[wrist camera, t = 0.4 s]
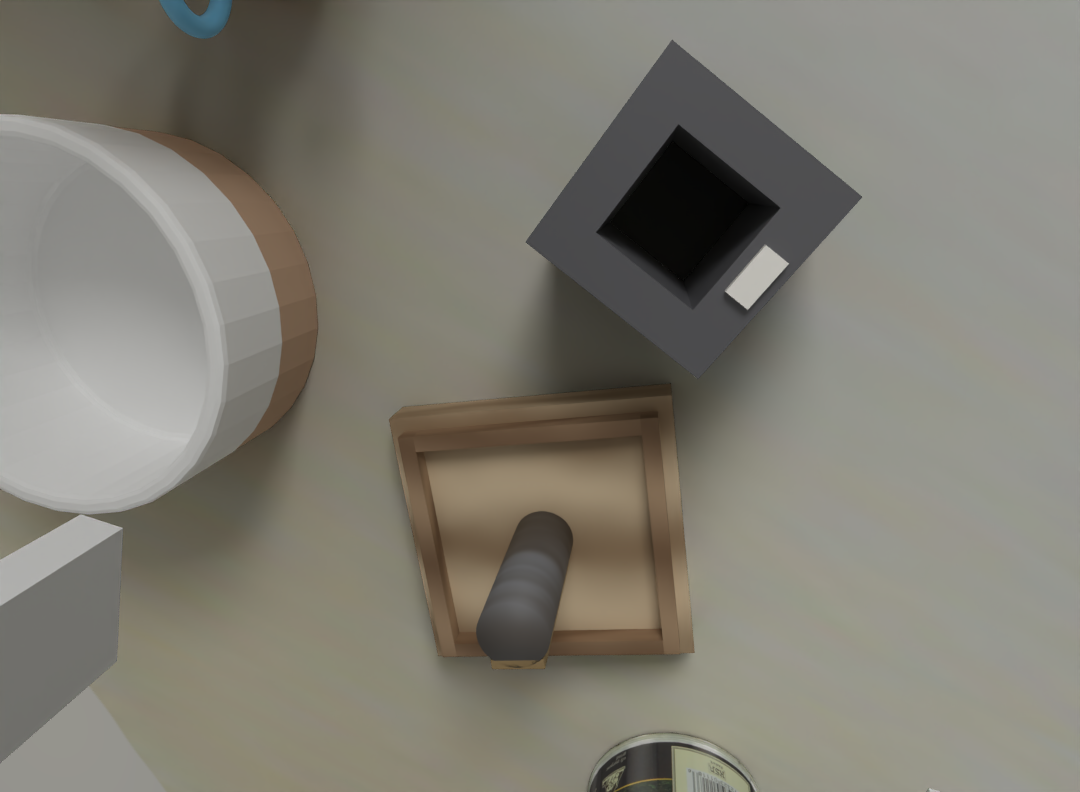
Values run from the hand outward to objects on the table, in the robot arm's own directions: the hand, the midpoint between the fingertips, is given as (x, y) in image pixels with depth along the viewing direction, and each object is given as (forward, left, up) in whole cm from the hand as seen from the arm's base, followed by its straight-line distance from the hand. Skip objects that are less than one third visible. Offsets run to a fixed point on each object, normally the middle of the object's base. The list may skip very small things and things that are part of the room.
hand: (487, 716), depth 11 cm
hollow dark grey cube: (-7, +4, -24) cm, 25 cm away
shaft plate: (+8, -4, -24) cm, 26 cm away
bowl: (-6, -23, -24) cm, 34 cm away
